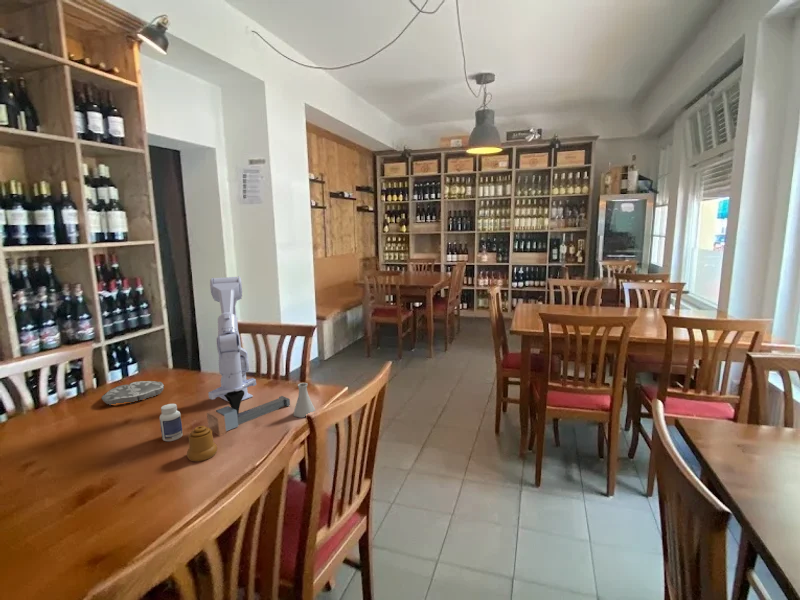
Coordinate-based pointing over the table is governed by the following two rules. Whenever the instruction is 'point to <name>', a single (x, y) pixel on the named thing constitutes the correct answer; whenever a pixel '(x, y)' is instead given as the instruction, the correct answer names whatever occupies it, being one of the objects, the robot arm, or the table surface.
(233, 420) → the block
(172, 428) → the pill bottle
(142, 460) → the table surface
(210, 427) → the rail
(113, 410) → the table surface
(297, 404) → the flask
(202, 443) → the ornamental finial
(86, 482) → the table surface
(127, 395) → the brain slice
